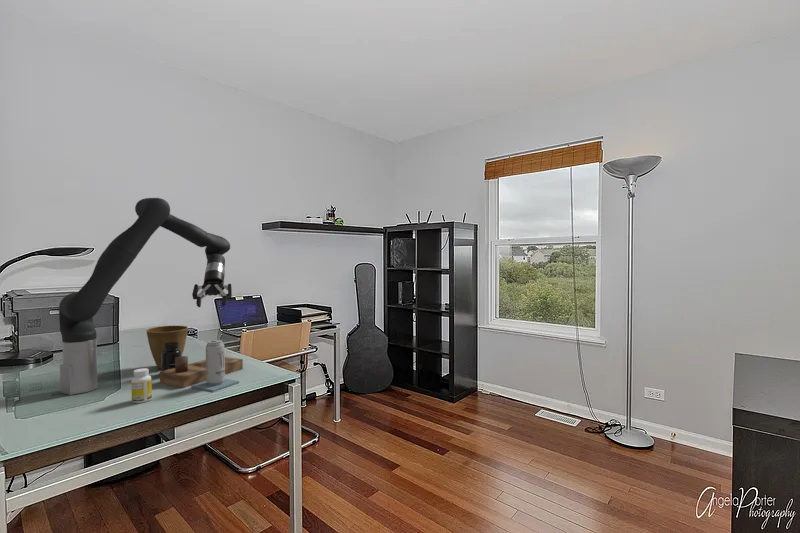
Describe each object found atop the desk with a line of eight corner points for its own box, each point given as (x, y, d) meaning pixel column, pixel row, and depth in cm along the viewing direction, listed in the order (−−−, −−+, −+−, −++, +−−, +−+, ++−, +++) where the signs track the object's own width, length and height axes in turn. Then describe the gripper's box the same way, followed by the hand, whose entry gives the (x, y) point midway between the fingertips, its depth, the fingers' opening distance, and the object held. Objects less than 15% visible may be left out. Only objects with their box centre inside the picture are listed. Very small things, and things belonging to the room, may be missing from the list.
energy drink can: (220, 386, 142) (219, 343, 141) (202, 385, 142) (202, 343, 141) (227, 380, 148) (227, 339, 147) (211, 380, 148) (210, 339, 147)
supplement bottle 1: (148, 396, 133) (147, 366, 133) (154, 400, 130) (154, 369, 129) (129, 401, 129) (128, 370, 129) (135, 405, 125) (134, 373, 125)
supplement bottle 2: (172, 377, 154) (172, 345, 154) (157, 376, 156) (156, 344, 155) (185, 372, 161) (185, 341, 161) (170, 371, 162) (170, 341, 162)
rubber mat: (213, 392, 137) (213, 390, 137) (191, 387, 142) (191, 385, 142) (239, 382, 147) (239, 381, 147) (217, 378, 152) (217, 377, 152)
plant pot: (138, 370, 164) (137, 330, 163) (169, 361, 178) (169, 324, 178) (166, 373, 159) (166, 332, 159) (196, 363, 173) (196, 326, 173)
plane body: (183, 387, 142) (183, 362, 141) (159, 382, 147) (159, 358, 147) (242, 369, 165) (242, 347, 165) (220, 365, 171) (219, 344, 170)
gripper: (194, 269, 166) (189, 300, 155) (232, 269, 170) (230, 299, 159) (197, 281, 171) (192, 312, 160) (233, 281, 175) (231, 311, 165)
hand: (211, 305), depth 160 cm, fingers open, 8 cm apart
